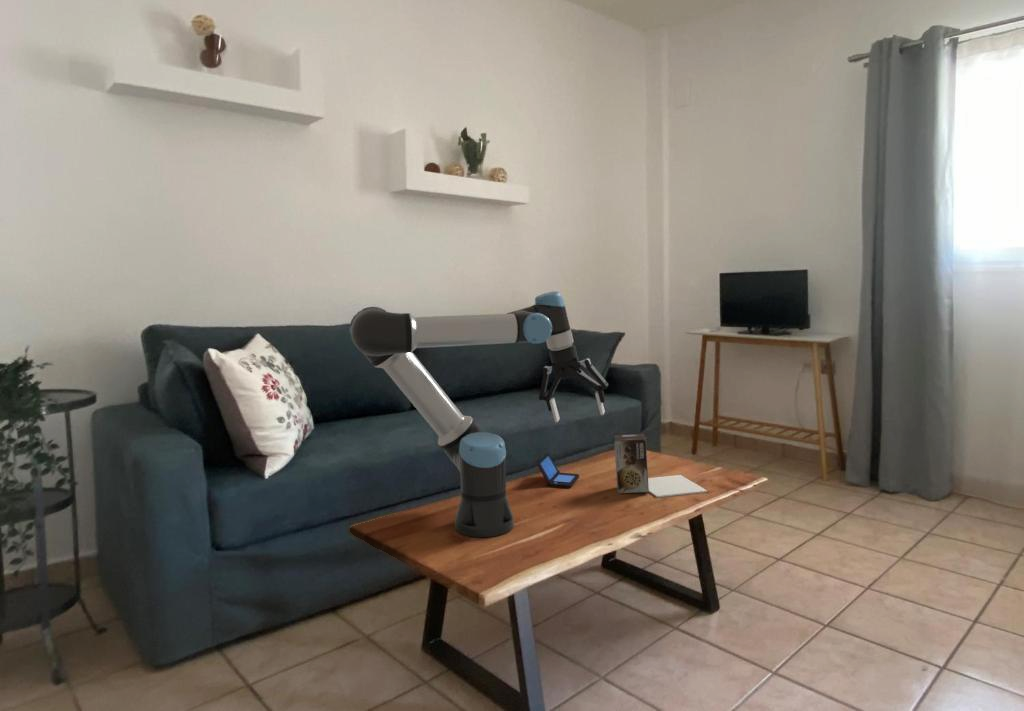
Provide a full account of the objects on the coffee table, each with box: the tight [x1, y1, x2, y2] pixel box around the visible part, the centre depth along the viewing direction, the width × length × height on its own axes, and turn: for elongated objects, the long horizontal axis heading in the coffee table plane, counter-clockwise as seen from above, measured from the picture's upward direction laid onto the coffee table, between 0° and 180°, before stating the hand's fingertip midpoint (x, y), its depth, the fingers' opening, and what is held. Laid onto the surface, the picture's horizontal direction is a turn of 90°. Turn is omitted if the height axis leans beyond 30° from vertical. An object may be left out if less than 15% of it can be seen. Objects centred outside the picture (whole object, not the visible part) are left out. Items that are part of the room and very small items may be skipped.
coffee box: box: [613, 433, 650, 494], centre depth 197 cm, size 9×6×16 cm
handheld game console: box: [536, 453, 580, 489], centre depth 208 cm, size 12×11×7 cm
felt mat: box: [648, 474, 708, 499], centre depth 201 cm, size 16×16×1 cm
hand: (579, 417), depth 191 cm, fingers open, 13 cm apart
